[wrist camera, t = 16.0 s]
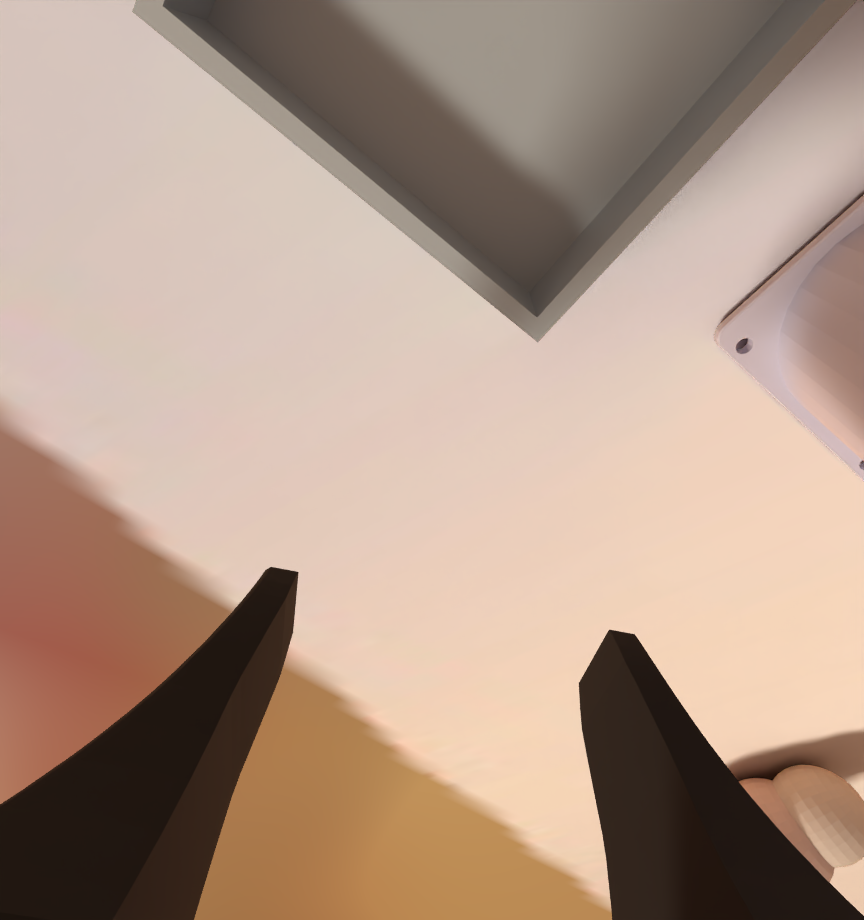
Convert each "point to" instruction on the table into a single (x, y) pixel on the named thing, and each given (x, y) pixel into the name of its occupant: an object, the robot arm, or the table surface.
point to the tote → (504, 114)
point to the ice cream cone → (814, 814)
